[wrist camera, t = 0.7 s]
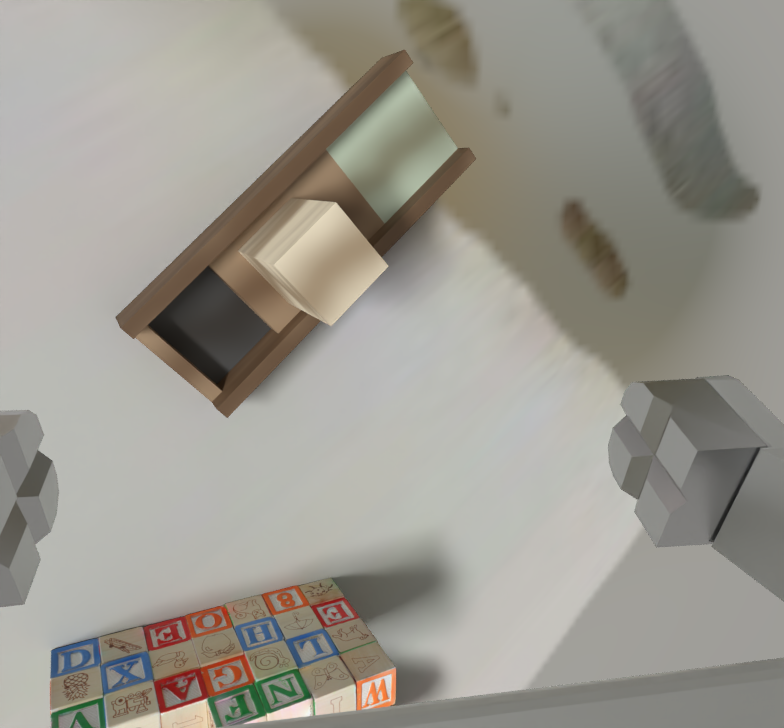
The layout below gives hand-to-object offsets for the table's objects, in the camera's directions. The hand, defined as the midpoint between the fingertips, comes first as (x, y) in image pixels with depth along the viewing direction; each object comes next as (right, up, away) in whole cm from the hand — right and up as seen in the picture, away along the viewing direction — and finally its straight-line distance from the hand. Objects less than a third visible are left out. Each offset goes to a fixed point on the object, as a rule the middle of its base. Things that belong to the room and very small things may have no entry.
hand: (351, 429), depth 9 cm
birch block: (-6, +9, +35) cm, 36 cm away
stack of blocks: (-14, -21, +42) cm, 49 cm away
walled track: (-6, +10, +37) cm, 39 cm away
